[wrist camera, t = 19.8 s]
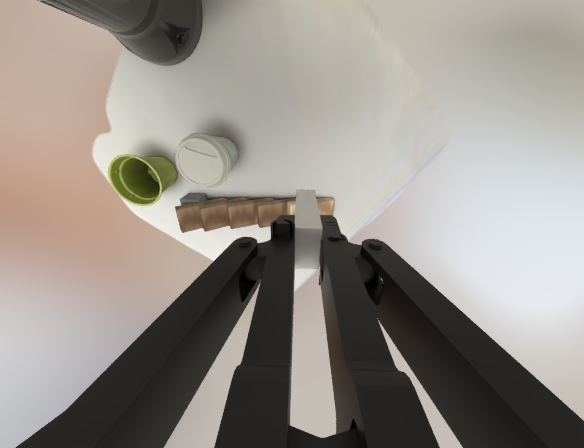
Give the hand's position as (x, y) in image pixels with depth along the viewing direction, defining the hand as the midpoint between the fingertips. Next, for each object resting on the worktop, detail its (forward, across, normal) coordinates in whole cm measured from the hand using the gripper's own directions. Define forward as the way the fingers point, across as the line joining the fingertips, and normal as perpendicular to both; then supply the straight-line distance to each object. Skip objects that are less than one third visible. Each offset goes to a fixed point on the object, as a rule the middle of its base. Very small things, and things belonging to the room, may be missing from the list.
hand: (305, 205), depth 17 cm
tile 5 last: (+27, -16, -12) cm, 34 cm away
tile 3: (+28, -6, -12) cm, 31 cm away
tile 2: (+28, 0, -12) cm, 30 cm away
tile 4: (+28, -12, -12) cm, 33 cm away
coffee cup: (+29, -16, 0) cm, 33 cm away
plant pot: (+29, -30, -4) cm, 42 cm away
